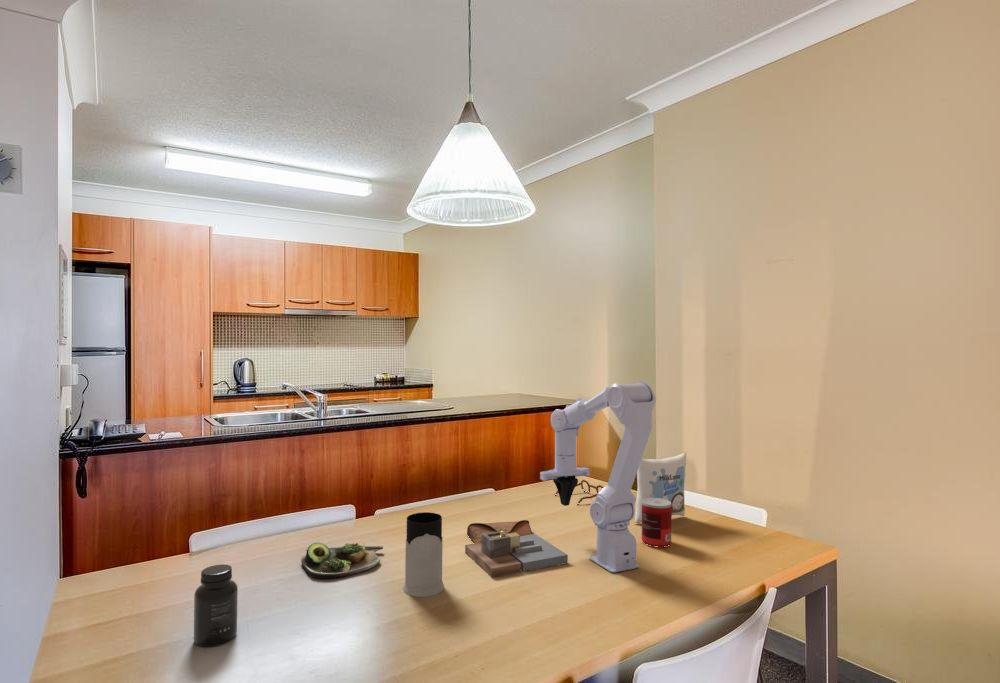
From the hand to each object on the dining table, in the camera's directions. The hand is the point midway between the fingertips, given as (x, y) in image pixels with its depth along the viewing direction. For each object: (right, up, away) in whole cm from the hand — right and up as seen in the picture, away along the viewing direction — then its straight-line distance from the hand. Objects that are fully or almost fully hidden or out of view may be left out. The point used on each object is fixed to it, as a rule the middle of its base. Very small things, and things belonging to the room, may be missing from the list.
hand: (565, 504), depth 149 cm
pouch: (+31, -10, +17) cm, 36 cm away
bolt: (-16, -7, -14) cm, 23 cm away
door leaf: (-10, -9, -11) cm, 18 cm away
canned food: (+24, -10, -2) cm, 26 cm away
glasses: (+10, -10, +41) cm, 43 cm away
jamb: (-19, -9, -16) cm, 27 cm away
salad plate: (-56, -9, -18) cm, 59 cm away
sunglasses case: (-17, -10, +1) cm, 20 cm away
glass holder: (-35, -9, -28) cm, 45 cm away
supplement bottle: (-68, -9, -51) cm, 85 cm away
